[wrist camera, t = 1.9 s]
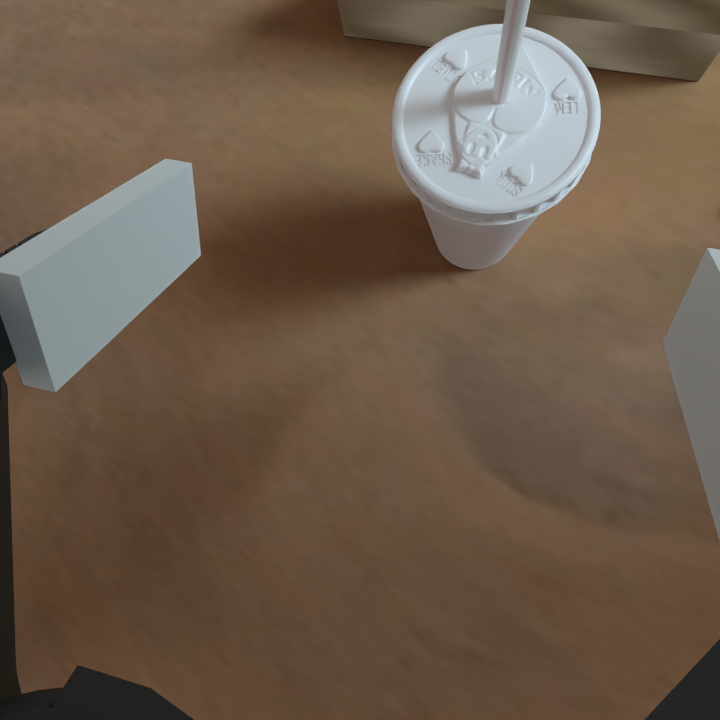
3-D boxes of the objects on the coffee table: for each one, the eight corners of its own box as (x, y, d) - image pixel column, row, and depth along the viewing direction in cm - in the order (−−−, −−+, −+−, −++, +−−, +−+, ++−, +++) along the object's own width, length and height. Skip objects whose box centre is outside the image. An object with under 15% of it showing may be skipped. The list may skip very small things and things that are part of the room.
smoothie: (565, 192, 27) (698, -75, 13) (515, 318, 26) (599, 175, 13) (435, 150, 28) (434, -136, 14) (384, 270, 28) (332, 90, 14)
